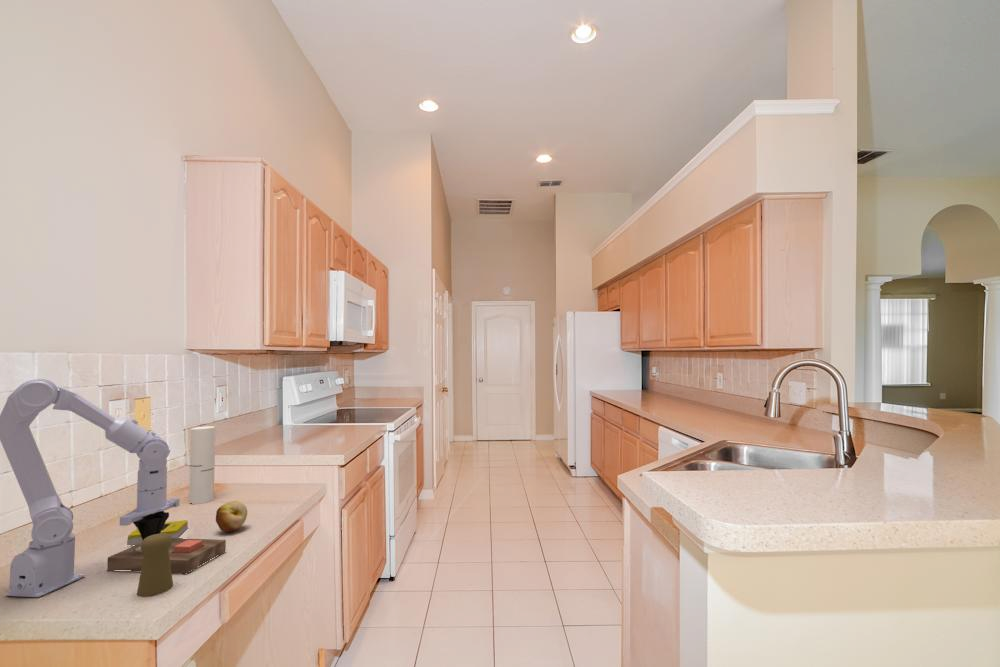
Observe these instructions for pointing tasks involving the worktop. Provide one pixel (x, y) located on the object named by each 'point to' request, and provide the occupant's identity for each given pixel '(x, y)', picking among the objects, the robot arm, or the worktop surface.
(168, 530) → the emergency button
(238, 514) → the fruit
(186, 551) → the salmon red square block
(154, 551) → the olive tall tapered piece
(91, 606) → the worktop surface
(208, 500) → the cylindrical container
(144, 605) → the worktop surface
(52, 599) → the worktop surface
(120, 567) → the walnut plunger housing
